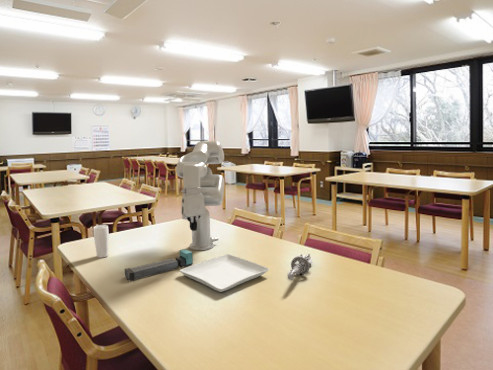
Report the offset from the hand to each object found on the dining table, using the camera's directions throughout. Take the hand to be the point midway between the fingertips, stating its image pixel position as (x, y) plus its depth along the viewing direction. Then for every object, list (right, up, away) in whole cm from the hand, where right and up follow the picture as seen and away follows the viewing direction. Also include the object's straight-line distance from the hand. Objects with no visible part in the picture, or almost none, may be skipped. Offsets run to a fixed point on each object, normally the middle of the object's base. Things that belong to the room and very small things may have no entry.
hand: (193, 229), depth 161 cm
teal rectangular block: (-3, -14, -2) cm, 15 cm away
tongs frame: (-13, -16, -10) cm, 23 cm away
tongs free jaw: (-17, -16, -11) cm, 26 cm away
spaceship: (+47, -17, -15) cm, 52 cm away
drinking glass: (-46, -14, +9) cm, 49 cm away
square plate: (+15, -18, -16) cm, 28 cm away
